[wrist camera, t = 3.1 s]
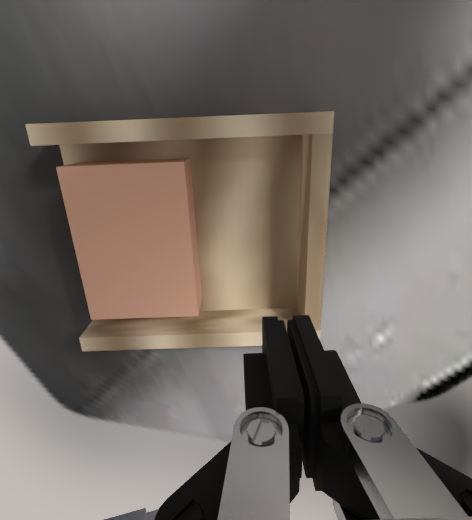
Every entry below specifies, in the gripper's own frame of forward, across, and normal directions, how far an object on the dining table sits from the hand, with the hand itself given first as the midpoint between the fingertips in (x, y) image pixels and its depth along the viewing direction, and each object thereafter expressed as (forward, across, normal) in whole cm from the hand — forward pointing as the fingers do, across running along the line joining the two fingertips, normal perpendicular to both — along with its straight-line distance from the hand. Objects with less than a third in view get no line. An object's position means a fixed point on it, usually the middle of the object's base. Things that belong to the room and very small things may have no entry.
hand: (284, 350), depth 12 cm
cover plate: (+14, +9, 0) cm, 17 cm away
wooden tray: (+15, +5, 0) cm, 16 cm away
